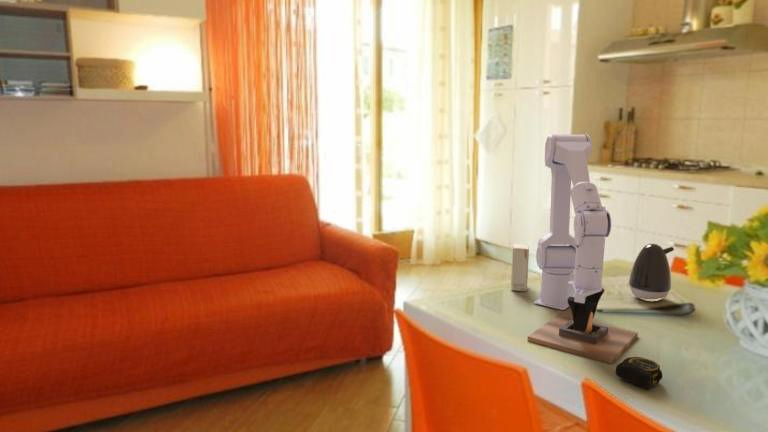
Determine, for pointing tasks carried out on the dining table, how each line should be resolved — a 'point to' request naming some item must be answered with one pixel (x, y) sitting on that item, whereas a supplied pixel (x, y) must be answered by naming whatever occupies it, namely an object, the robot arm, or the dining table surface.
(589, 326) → the peg
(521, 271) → the skincare box
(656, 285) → the pump dispenser
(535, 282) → the dining table surface
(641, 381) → the tape measure
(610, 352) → the socket
